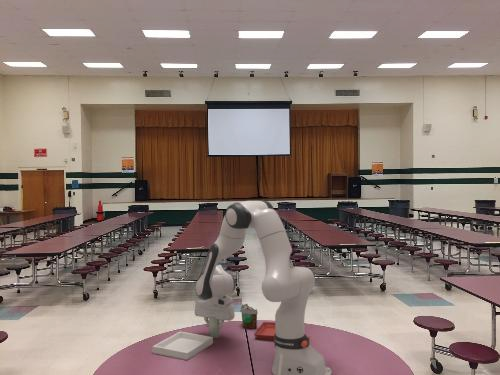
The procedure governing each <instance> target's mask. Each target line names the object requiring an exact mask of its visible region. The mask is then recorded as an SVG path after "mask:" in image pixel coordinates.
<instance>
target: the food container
mask: <svg viewBox="0 0 500 375" xmlns="http://www.w3.org/2000/svg"><path fill="white" fill-rule="evenodd" d="M239 312H240V313H241V321H242V322H241V323H242V328H243V329H245V330H257V329H258V328H257V326H258V309H254V308H253V306H252V307H251V306H249V304H248V303H245V304H242V305H241V306H240V310H239Z"/></svg>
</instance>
